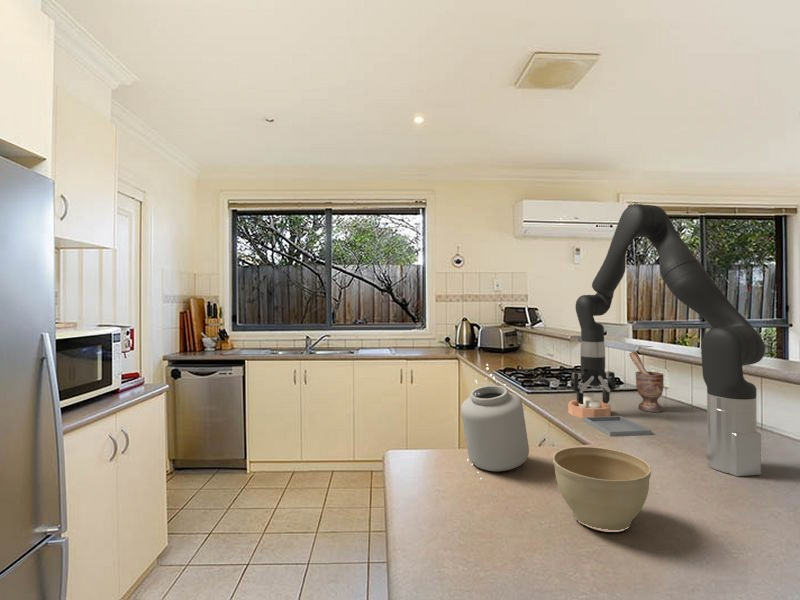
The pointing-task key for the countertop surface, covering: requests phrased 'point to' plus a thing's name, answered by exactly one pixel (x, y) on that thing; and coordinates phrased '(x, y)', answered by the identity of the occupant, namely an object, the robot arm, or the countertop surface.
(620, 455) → the planter bowl
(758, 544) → the countertop surface
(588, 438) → the countertop surface
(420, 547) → the countertop surface
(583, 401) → the cream rounded lump
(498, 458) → the jar
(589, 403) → the cream rounded piece
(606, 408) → the bowl
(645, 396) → the mortar and pestle
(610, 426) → the tray
